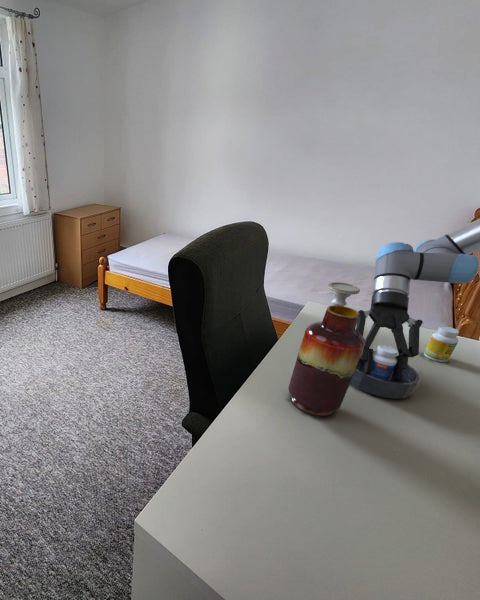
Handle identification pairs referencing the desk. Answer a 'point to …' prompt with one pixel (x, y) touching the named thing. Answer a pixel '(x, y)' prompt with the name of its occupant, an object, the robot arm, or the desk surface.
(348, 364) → the vase
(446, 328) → the supplement bottle
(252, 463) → the desk surface
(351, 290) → the candle holder
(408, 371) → the pan
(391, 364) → the pill bottle
